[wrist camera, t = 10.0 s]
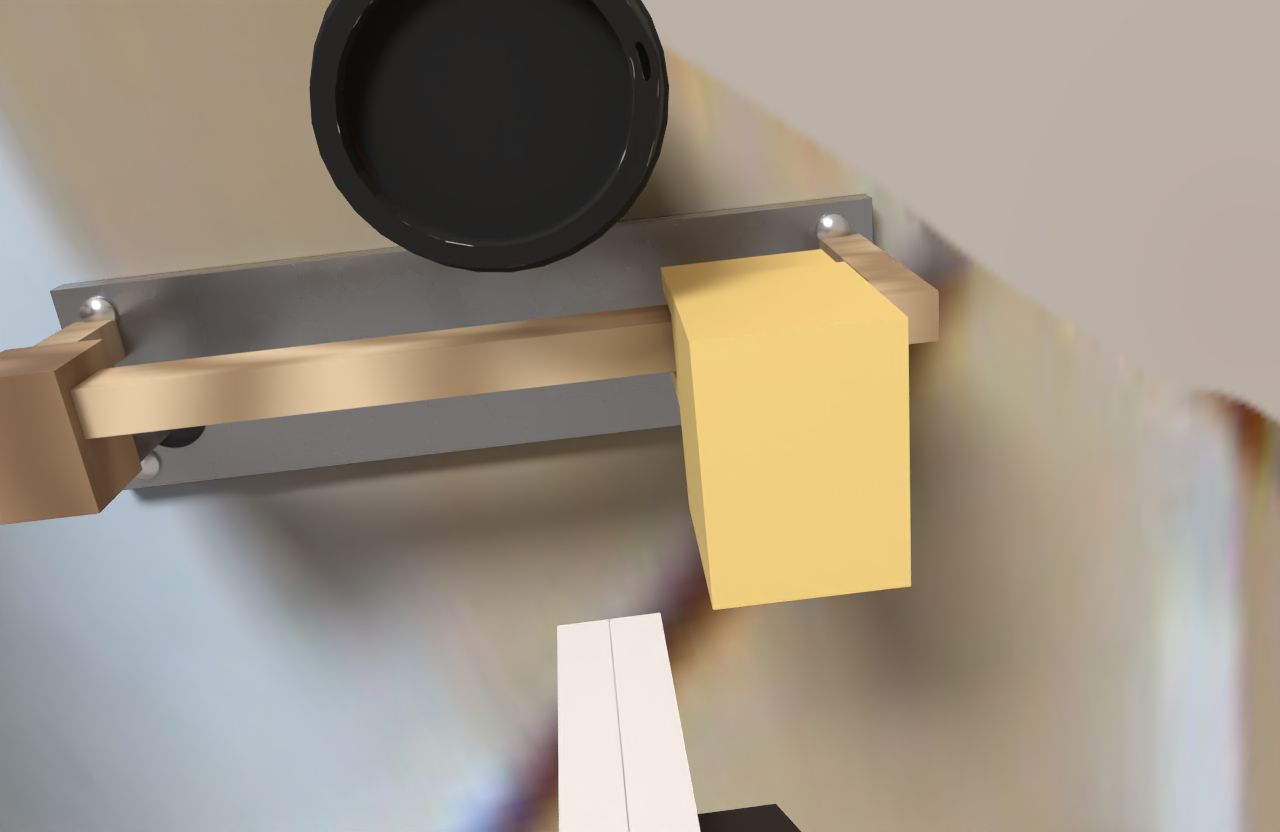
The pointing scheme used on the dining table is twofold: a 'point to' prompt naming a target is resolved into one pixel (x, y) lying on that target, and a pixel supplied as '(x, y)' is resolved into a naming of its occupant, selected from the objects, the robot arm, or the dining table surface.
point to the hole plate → (421, 302)
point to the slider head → (792, 426)
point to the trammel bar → (317, 382)
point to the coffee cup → (489, 122)
